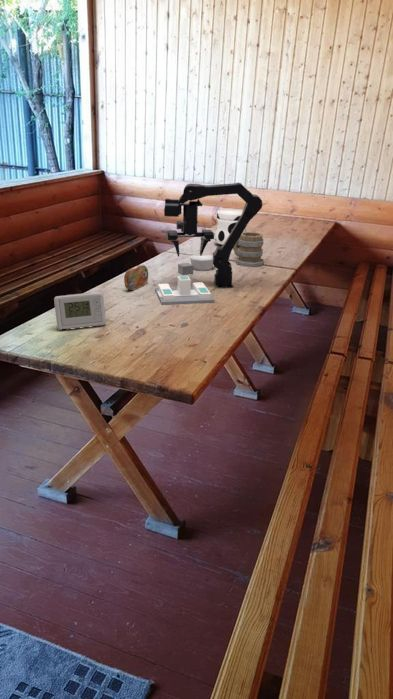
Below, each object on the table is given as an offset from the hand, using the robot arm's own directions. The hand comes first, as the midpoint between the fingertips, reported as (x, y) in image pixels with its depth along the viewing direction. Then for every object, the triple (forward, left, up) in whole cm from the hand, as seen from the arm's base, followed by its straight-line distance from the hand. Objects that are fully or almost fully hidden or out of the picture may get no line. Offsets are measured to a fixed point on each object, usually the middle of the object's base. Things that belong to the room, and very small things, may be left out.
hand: (189, 256), depth 223 cm
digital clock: (+44, +42, -12) cm, 62 cm away
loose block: (-2, -17, -12) cm, 21 cm away
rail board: (+5, +15, -12) cm, 20 cm away
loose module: (+5, +15, -11) cm, 19 cm away
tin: (+22, +1, -12) cm, 25 cm away
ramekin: (-11, -25, -12) cm, 30 cm away
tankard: (-34, -34, -12) cm, 50 cm away
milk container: (-36, -69, -12) cm, 79 cm away
